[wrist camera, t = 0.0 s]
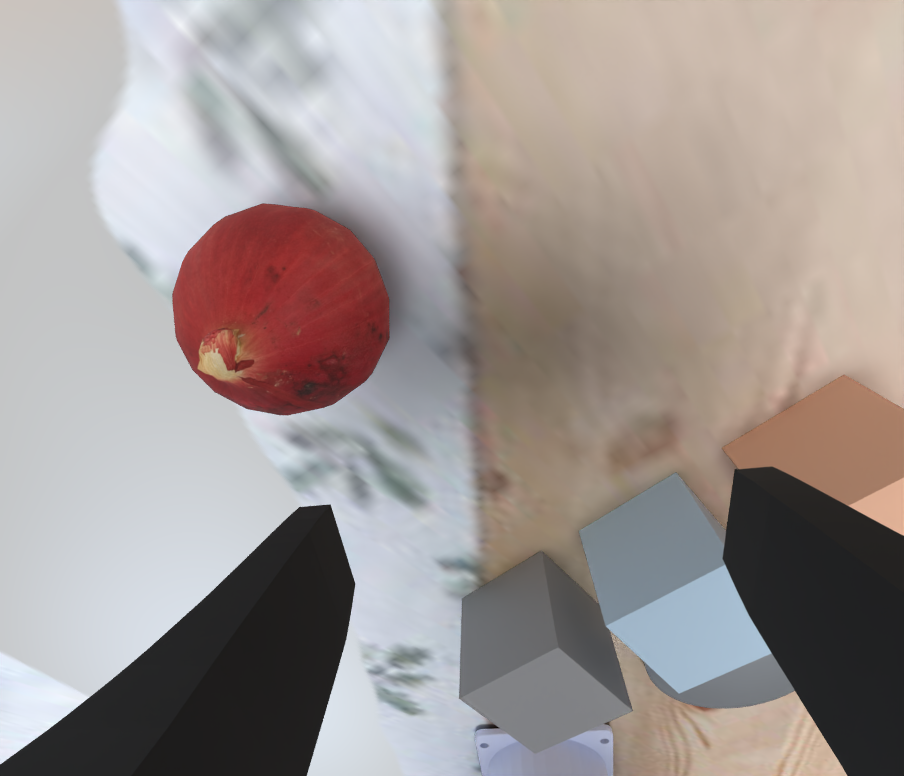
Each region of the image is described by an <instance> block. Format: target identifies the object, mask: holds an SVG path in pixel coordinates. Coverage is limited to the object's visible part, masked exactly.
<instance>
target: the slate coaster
mask: <svg viewBox="0 0 904 776" xmlns="http://www.w3.org/2000/svg"><path fill="white" fill-rule="evenodd" d="M643 662H644V661H643ZM644 665H645V668H646V671H647V673H648V675H649V677H650V679H651V680H652V682H653V683H654V684H655V686H657V687H658V688H659V689H660V690H661V691H662V692H664V693H665V694H667V695H668V696H670V697H672V698H674V699H676V700H678V701H681V702H684V703H687V704H691V705H695V706H700V707H706V708H739V707H746V706H753V705H757V704H761V703H765V702H768V701H772V700H775V699H777V698H780V697H782V696H785V695H787V694H789V693H791V692H793V691H795V690H794V688H793V687H792V685H791V683H790V682H789V680H788V679H787V677H786V675H785V674H784V672H783V671H782V669H781V667H780V666H779V664H778V663H777V661H776V659H775V658H774V656H773V654H772V653H771V654H769V655H767V656H764V657H762V658H760V659H758V660H755V661H753V662H751V663H748V664H746V665H744V666H741V667H739V668H737V669H735V670H732V671H730V672H728V673H725V674H723V675H721V676H718V677H716V678H714V679H712V680H709V681H707V682H705V683H702V684H700V685H698V686H696V687H693V688H691V689H689V690H686V691H684V692H682V693H678V692H677V691H675V690H674V689H673V688H672V687H671V686H670V685H669V684H668V683H667V682H666V681H665V680H663V679H662V678H661V677H660V676H659V675H658V674H657V673H656V672H655V671H654V670H653V669H652V668H650V667H649V666H648V665H647V664H646V663H645V662H644Z"/></svg>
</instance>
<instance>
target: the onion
mask: <svg viewBox="0 0 904 776" xmlns="http://www.w3.org/2000/svg"><path fill="white" fill-rule="evenodd" d="M172 297H173V312H174V323H175V333H176V338H177V341H178V343H179V345H180V347H181V349H182V351H183V353H184V355H185V356H186V358H187V360H188V362H189V364H190V366H191V368H192V370H193V371H194V372H195V373H196V374H198V376H199V377H200V378H201V379H202V380H203V381H204V382H205V383H206V384H207V385H208V386H209V387H210V388H211V389H212V390H213V391H214V392H216V393H218V394H220V395H222V396H223V397H226V398H227V399H229V400H231V401H233V402H235V403H237V404H238V405H240V406H242V407H244V408H246V409H250V410H256V411H261V412H266V413H272V414H277V415H291V414H296V413H301V412H305V411H310V410H315V409H319V408H324V407H327V406H330V405H332V404H334V403H336V402H337V401H339V400H340V399H341V398H343V397H344V396H346V395H347V394H348V393H350V392H351V391H353V390H354V389H355V388H357V387H358V386H360V385H361V384H362V383H364V382H365V381H366V380H367V379H368V378H369V376H370V375H371V374H372V373H373V371H374V369H375V367H376V365H377V363H378V361H379V359H380V356H381V354H382V352H383V350H384V348H385V346H386V344H387V342H388V340H389V297H388V294H387V291H386V288H385V286H384V283H383V280H382V277H381V275H380V272H379V269H378V267H377V264H376V261H375V259H374V258H373V256H372V255H371V254H370V253H369V252H368V251H367V249H366V248H365V247H364V246H363V245H362V243H361V242H360V241H359V240H358V239H357V238H356V236H355V235H354V234H353V233H352V232H351V231H350V230H349V229H348V228H346V227H344V226H342V225H340V224H339V223H337V222H335V221H333V220H331V219H330V218H328V217H326V216H324V215H322V214H321V213H319V212H317V211H315V210H311V209H307V208H299V207H290V206H282V205H275V204H260V205H257V206H254V207H251V208H248V209H246V210H243V211H240V212H237V213H234V214H231V215H228V216H226V217H224V218H223V219H221V220H220V221H218V222H217V223H216V224H214V225H213V226H212V227H211V228H210V229H209V230H208V231H207V232H206V233H205V234H204V235H203V236H202V238H201V239H200V240H199V241H198V242H197V243H196V244H195V245H194V246H193V247H192V248H191V249H190V250H189V251H188V253H187V255H186V256H185V258H184V260H183V262H182V265H181V268H180V271H179V275H178V278H177V281H176V284H175V287H174V291H173V294H172Z"/></svg>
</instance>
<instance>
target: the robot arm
mask: <svg viewBox="0 0 904 776" xmlns="http://www.w3.org/2000/svg"><path fill="white" fill-rule="evenodd" d="M722 559H723V561H724V563H725V565H726V568H727V570H728V572H729V574H730V577H731V579H732V581H733V583H734V586H735V588H736V590H737V592H738V594H739V596H740V598H741V600H742V602H743V604H744V606H745V609H746V611H747V613H748V615H749V617H750V618H751V620H752V622H753V623H754V625H755V627H756V628H757V630H758V632H759V633H760V635H761V636H762V638H763V640H764V641H765V643H766V645H767V646H768V648H769V650H770V651H771V653H772V654H773V656H774V658H775V659H776V661H777V663H778V664H779V666H780V667H781V669H782V671H783V672H784V674H785V675H786V677H787V679H788V680H789V682H790V683H791V685H792V687H793V688H794V690H795V691H796V693H797V695H798V696H799V698H800V699H801V701H802V703H803V704H804V706H805V707H806V709H807V711H808V712H809V714H810V715H811V717H812V719H813V720H814V722H815V724H816V725H817V727H818V728H819V730H820V732H821V733H822V735H823V736H824V738H825V740H826V741H827V743H828V744H829V746H830V748H831V749H832V751H833V752H834V754H835V756H836V757H837V759H838V760H839V762H840V764H841V765H842V767H843V769H844V770H845V772H846V774H847V776H904V536H903V535H901V534H899V533H897V532H896V531H894V530H892V529H890V528H888V527H886V526H884V525H883V524H881V523H879V522H877V521H875V520H873V519H871V518H870V517H868V516H866V515H864V514H862V513H860V512H858V511H857V510H855V509H853V508H851V507H849V506H847V505H846V504H844V503H842V502H840V501H838V500H836V499H835V498H833V497H831V496H829V495H827V494H825V493H823V492H822V491H820V490H818V489H816V488H814V487H812V486H810V485H809V484H807V483H805V482H803V481H801V480H799V479H797V478H795V477H793V476H791V475H789V474H787V473H785V472H783V471H781V470H779V469H777V468H775V467H773V466H770V467H758V468H747V469H735V471H734V478H733V485H732V493H731V500H730V507H729V514H728V522H727V529H726V536H725V544H724V551H723V558H722ZM354 589H355V582H354V578H353V575H352V572H351V569H350V566H349V562H348V559H347V556H346V553H345V550H344V546H343V543H342V540H341V537H340V534H339V530H338V527H337V524H336V521H335V518H334V514H333V511H332V508H331V505H319V506H308V507H299V508H298V509H297V510H296V511H295V512H293V514H291V515H290V516H289V517H288V518H287V519H286V520H285V521H284V522H283V523H282V524H281V525H280V526H279V527H277V528H276V530H275V531H273V532H272V533H271V534H270V536H268V537H267V538H266V539H265V540H264V541H263V542H262V543H261V544H260V545H259V546H258V547H257V548H256V549H255V550H254V551H253V552H252V553H251V554H250V555H249V556H248V557H247V558H246V559H245V560H244V561H243V562H242V563H241V564H240V565H239V566H238V567H237V568H236V569H235V570H233V572H231V573H230V575H228V576H227V577H226V578H225V579H224V580H223V581H222V582H221V583H220V584H219V585H218V586H217V587H216V588H215V589H214V590H213V591H212V592H211V593H210V594H209V595H208V596H206V598H204V599H203V600H202V601H201V602H200V603H199V604H198V605H197V606H195V607H194V608H193V609H192V610H191V611H190V612H189V613H188V614H187V615H186V616H184V617H183V618H182V619H181V620H180V621H179V622H178V623H177V624H175V625H174V626H173V627H172V628H171V629H170V630H169V631H168V632H167V633H165V635H163V636H162V637H161V638H160V639H159V640H158V641H157V642H155V643H154V644H153V645H152V646H151V647H150V648H149V649H148V650H147V651H145V652H144V653H143V654H142V655H141V656H140V657H138V658H137V659H136V660H135V661H134V662H132V663H131V664H130V665H129V666H128V667H127V668H125V669H124V670H123V671H122V672H120V673H119V674H118V675H117V676H116V677H114V678H113V679H112V680H111V681H110V682H108V683H107V684H106V685H105V686H104V687H102V688H101V689H100V690H98V691H97V692H96V693H95V694H93V695H92V696H91V697H90V698H88V699H87V700H86V701H84V702H83V703H82V704H81V705H79V706H78V707H77V708H76V709H74V710H73V711H72V712H71V713H69V714H68V715H67V716H66V717H64V718H63V719H62V720H60V721H59V722H58V723H56V724H55V725H54V726H52V727H51V728H50V729H49V730H47V731H46V732H45V733H43V734H42V735H40V736H39V737H38V738H36V739H35V740H33V741H32V742H31V743H29V744H28V745H27V746H25V747H24V748H22V749H21V750H20V751H18V752H17V753H16V754H14V755H13V756H11V757H10V758H9V759H7V760H6V761H5V762H3V763H2V764H0V776H307V773H308V769H309V766H310V762H311V759H312V756H313V752H314V748H315V745H316V742H317V739H318V735H319V732H320V728H321V725H322V722H323V718H324V715H325V711H326V708H327V704H328V701H329V698H330V694H331V691H332V687H333V684H334V680H335V677H336V673H337V670H338V666H339V663H340V659H341V656H342V652H343V649H344V645H345V641H346V637H347V632H348V626H349V621H350V615H351V609H352V602H353V596H354ZM475 743H476V747H477V752H478V757H479V762H480V766H481V771H482V776H613V732H612V729H611V727H610V726H609V725H606V724H602V725H600V726H598V727H595V728H593V729H591V730H589V731H586V732H584V733H582V734H579V735H577V736H575V737H573V738H570V739H568V740H566V741H563V742H561V743H559V744H557V745H554V746H552V747H550V748H547V749H545V750H543V751H541V752H538V753H536V754H535V753H533V752H532V751H530V750H529V749H528V748H526V747H525V746H524V745H522V744H521V743H520V742H518V741H517V740H515V739H514V738H513V737H511V736H510V735H509V734H507V733H506V732H504V731H503V730H502V729H500V728H494V729H479V730H477V731H476V732H475Z"/></svg>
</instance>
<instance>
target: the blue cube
mask: <svg viewBox="0 0 904 776" xmlns="http://www.w3.org/2000/svg"><path fill="white" fill-rule="evenodd" d="M579 534H580V537H581V541H582V544H583V548H584V551H585V555H586V559H587V562H588V566H589V569H590V573H591V576H592V580H593V583H594V587H595V590H596V594H597V597H598V601H599V605H600V608H601V612H602V615H603V619H604V622H605V626H606V627H607V628H608V629H609V630H610V631H611V632H612V633H614V634H615V635H616V636H617V637H618V638H619V639H620V640H621V641H622V642H623V643H624V644H626V645H627V646H628V647H629V648H630V649H631V650H632V651H633V652H634V653H635V654H636V655H637V656H639V657H640V658H641V659H642V660H643V661H644V662H645V663H646V664H647V665H648V666H649V667H650V668H652V669H653V670H654V671H655V672H656V673H657V674H658V675H659V676H660V677H661V678H662V679H663V680H665V681H666V682H667V683H668V684H669V685H670V686H671V687H672V688H673V689H674V690H675V691H677V692H678V693H682V692H684V691H686V690H689V689H691V688H693V687H696V686H698V685H700V684H702V683H705V682H707V681H709V680H712V679H714V678H716V677H718V676H721V675H723V674H725V673H728V672H730V671H732V670H735V669H737V668H739V667H741V666H744V665H746V664H748V663H751V662H753V661H755V660H758V659H760V658H762V657H764V656H767V655H769V654H771V651H770V650H769V648H768V646H767V645H766V643H765V641H764V640H763V638H762V636H761V635H760V633H759V632H758V630H757V628H756V627H755V625H754V623H753V622H752V620H751V618H750V617H749V615H748V613H747V611H746V609H745V606H744V604H743V602H742V600H741V598H740V596H739V594H738V592H737V590H736V588H735V586H734V583H733V581H732V579H731V577H730V574H729V572H728V570H727V568H726V565H725V563H724V561H723V559H722V558H723V551H724V544H725V536H726V530H725V529H724V528H723V527H722V526H721V524H720V523H719V522H718V521H717V520H716V519H715V517H714V516H713V515H712V514H711V513H710V511H709V510H708V509H707V508H706V507H705V506H704V504H703V503H702V502H701V501H700V500H699V499H698V497H697V496H696V495H695V494H694V493H693V491H692V490H691V489H690V488H689V487H688V486H687V484H686V483H685V482H684V481H683V480H682V479H681V477H680V476H679V475H678V474H677V473H674V474H672V475H671V476H669V477H667V478H666V479H664V480H662V481H661V482H659V483H657V484H656V485H654V486H652V487H651V488H649V489H647V490H646V491H644V492H642V493H641V494H639V495H637V496H636V497H634V498H633V499H631V500H629V501H628V502H626V503H624V504H623V505H621V506H619V507H618V508H616V509H614V510H613V511H611V512H609V513H608V514H606V515H604V516H603V517H601V518H599V519H598V520H596V521H594V522H593V523H591V524H589V525H588V526H586V527H584V528H583V529H581V530H579Z"/></svg>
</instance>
